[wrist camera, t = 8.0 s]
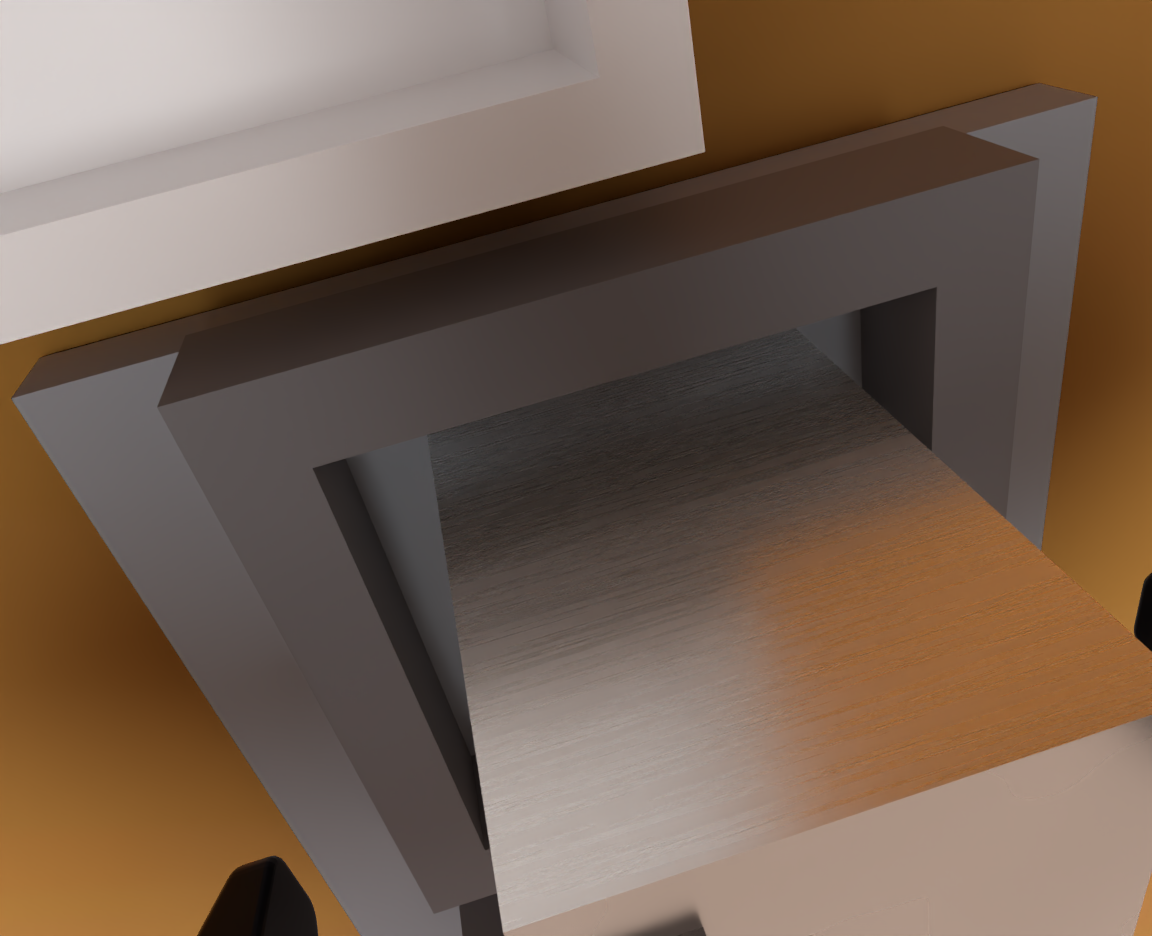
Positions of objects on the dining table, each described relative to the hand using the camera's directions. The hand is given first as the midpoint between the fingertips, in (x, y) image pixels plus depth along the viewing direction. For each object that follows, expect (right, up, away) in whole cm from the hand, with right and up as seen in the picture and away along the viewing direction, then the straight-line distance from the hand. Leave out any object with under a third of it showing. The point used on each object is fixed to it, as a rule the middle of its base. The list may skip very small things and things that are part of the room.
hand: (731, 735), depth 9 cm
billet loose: (-1, +2, +3) cm, 3 cm away
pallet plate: (0, -2, +6) cm, 7 cm away
